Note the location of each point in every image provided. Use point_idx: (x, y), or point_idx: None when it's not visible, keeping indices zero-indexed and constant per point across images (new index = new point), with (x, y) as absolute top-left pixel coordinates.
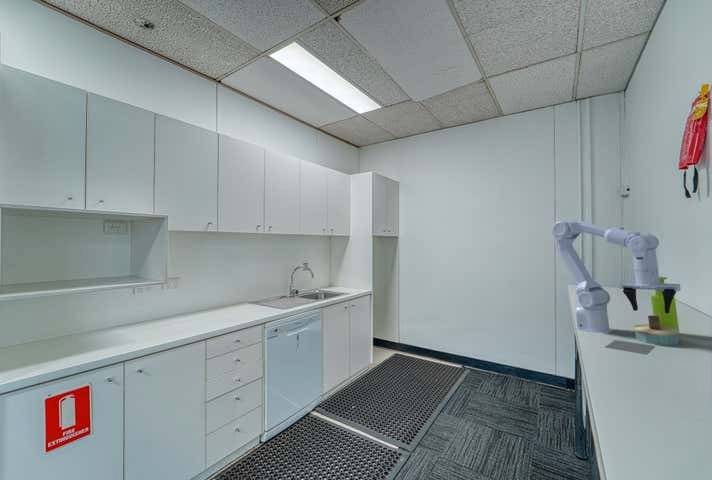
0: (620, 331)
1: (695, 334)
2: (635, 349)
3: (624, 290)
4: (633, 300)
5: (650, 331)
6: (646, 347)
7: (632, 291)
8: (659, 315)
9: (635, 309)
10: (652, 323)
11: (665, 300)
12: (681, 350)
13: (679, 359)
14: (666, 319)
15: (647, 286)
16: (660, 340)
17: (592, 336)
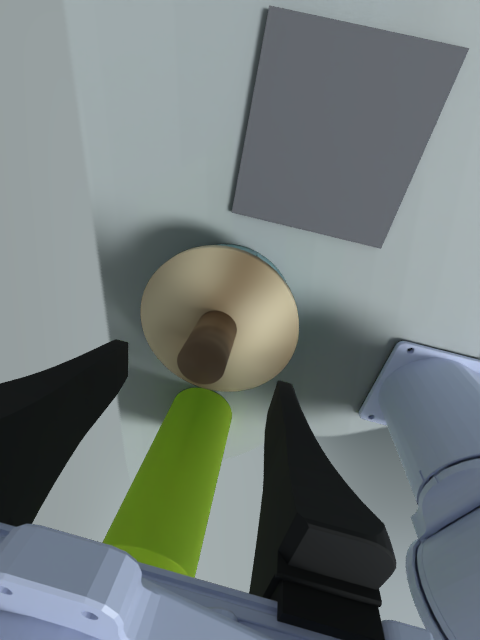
0: (336, 404)
1: (140, 424)
2: (311, 92)
3: (374, 568)
4: (285, 435)
5: (233, 263)
6: (263, 167)
7: (283, 536)
8: (194, 455)
9: (280, 385)
10: (216, 326)
11: (47, 386)
12: (154, 209)
13: (148, 33)
14: (177, 436)
15: (17, 542)
16: None
17: (469, 293)
